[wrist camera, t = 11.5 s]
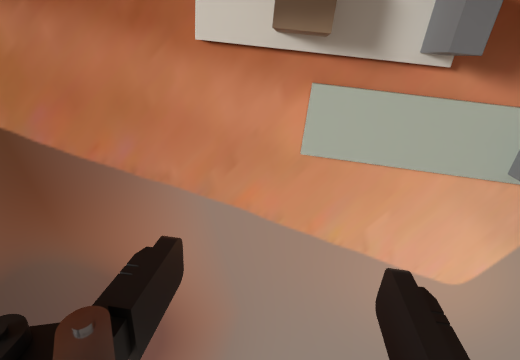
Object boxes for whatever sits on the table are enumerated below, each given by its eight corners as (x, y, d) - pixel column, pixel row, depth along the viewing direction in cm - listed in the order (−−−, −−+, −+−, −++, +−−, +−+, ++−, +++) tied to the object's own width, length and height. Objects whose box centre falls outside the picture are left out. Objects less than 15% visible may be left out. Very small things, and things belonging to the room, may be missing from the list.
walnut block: (283, -28, 27) (279, -45, 22) (336, -23, 26) (344, -40, 22) (276, 31, 29) (272, 27, 24) (326, 37, 28) (330, 33, 24)
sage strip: (312, 82, 31) (315, 89, 25) (565, 112, 29) (639, 128, 23) (300, 151, 35) (300, 173, 28) (527, 182, 33) (582, 213, 26)
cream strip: (199, -52, 28) (169, -84, 21) (478, -28, 26) (536, -55, 19) (198, 39, 31) (172, 35, 25) (445, 66, 29) (486, 70, 23)
